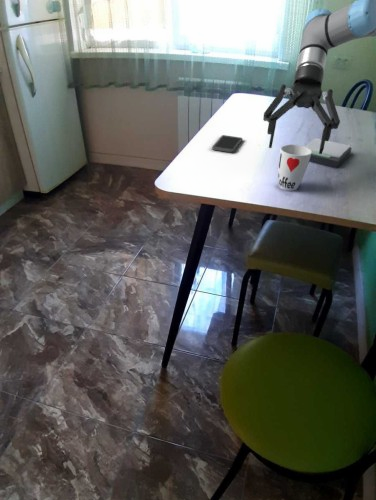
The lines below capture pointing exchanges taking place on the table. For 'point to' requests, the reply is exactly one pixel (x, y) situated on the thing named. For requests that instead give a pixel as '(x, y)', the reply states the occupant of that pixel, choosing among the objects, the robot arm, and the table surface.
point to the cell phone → (227, 143)
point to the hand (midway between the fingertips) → (295, 148)
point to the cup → (292, 166)
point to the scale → (328, 152)
